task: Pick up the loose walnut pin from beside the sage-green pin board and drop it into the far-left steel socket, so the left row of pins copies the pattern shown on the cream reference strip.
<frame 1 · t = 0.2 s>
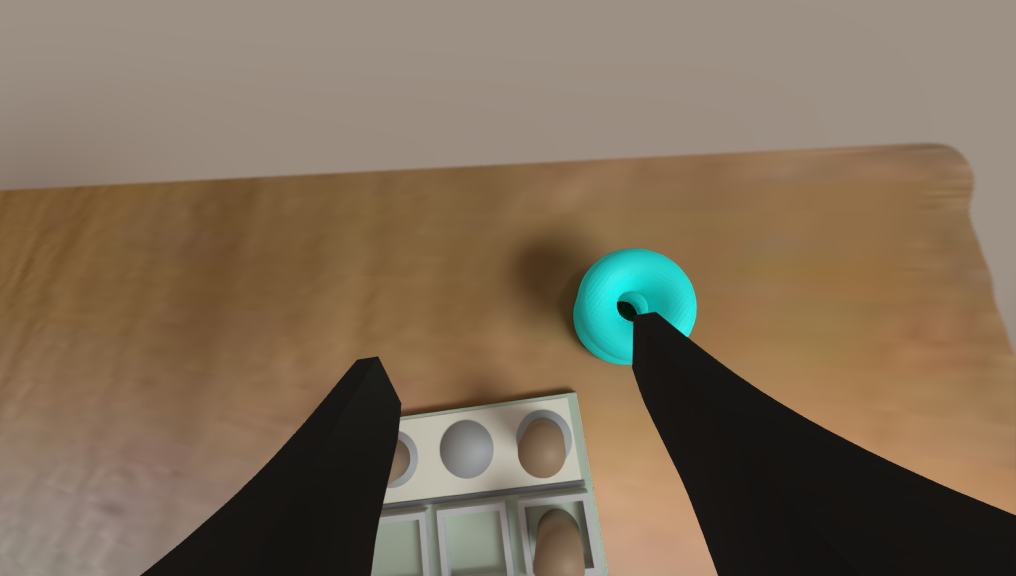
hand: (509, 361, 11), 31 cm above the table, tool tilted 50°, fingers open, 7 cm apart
donuts: (618, 318, 42), on the table
pin board: (474, 493, 39), on the table
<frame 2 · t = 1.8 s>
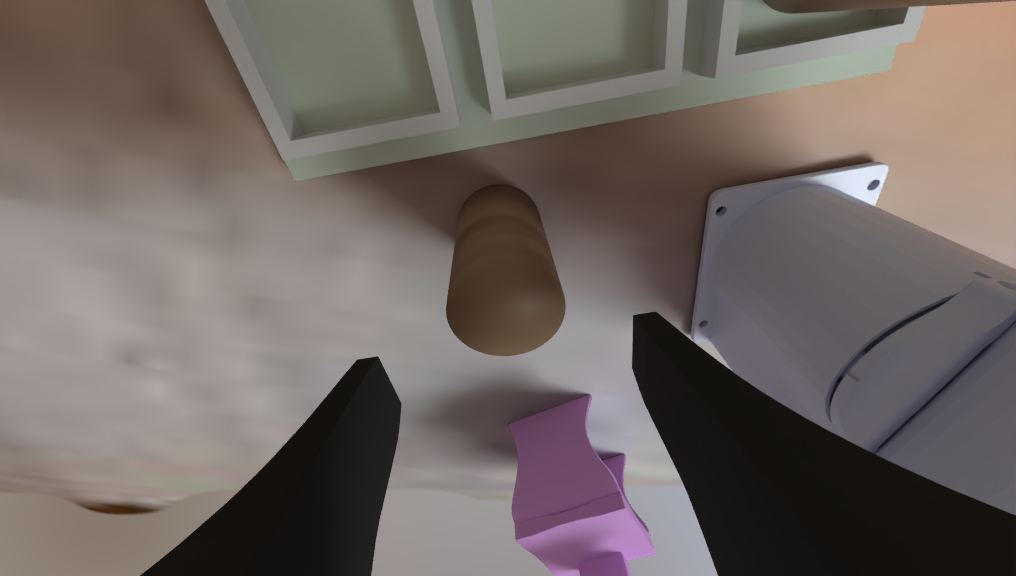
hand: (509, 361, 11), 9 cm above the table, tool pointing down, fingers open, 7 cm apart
toy chair: (567, 436, 29), on the table
walnut pin: (499, 224, 19), on the table
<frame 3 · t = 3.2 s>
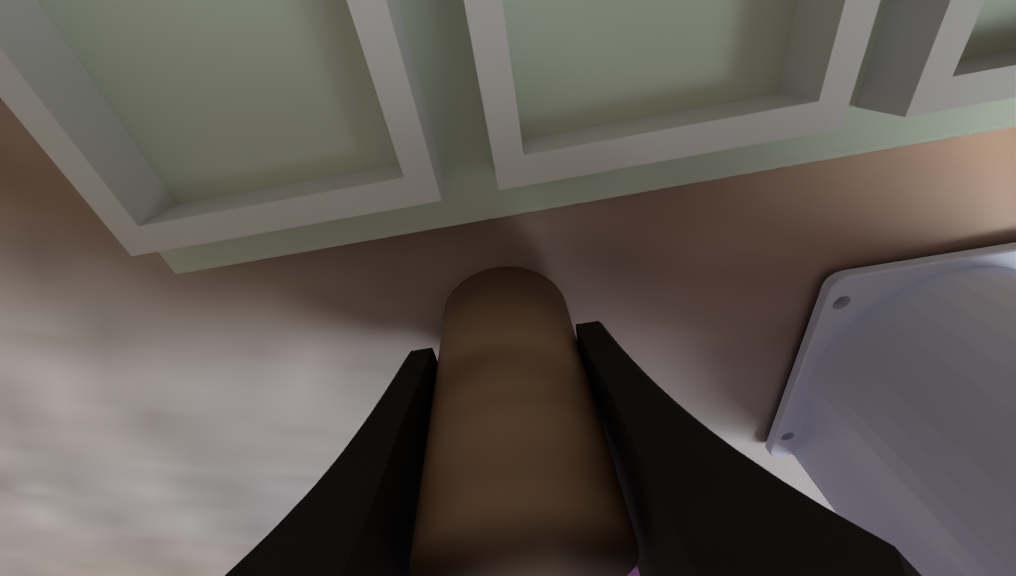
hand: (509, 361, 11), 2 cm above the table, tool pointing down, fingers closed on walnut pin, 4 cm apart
walnut pin: (506, 319, 13), on the table, touching gripper
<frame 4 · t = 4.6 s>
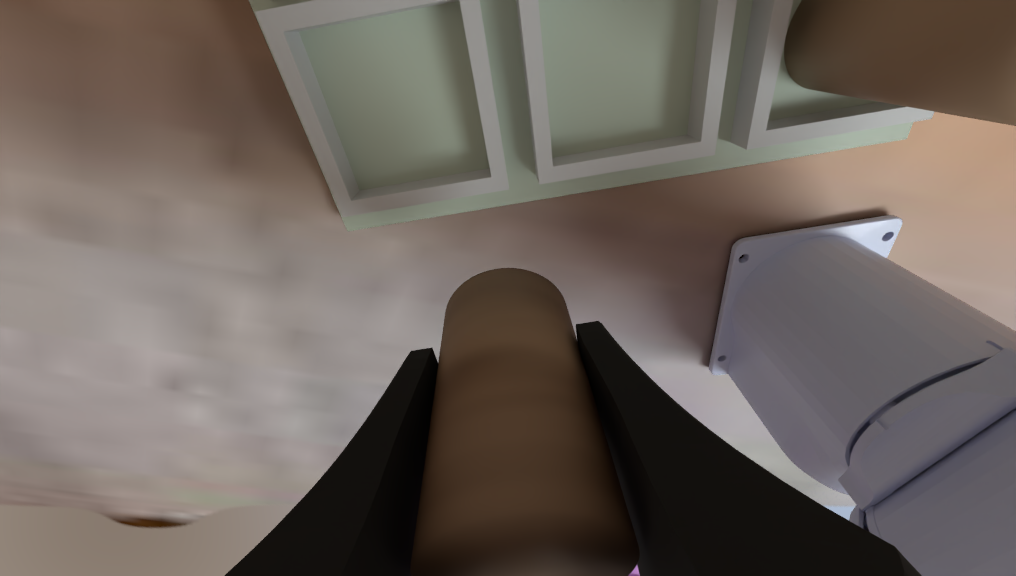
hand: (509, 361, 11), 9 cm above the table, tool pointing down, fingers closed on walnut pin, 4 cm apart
walnut pin: (506, 320, 13), point 7 cm above the table, touching gripper
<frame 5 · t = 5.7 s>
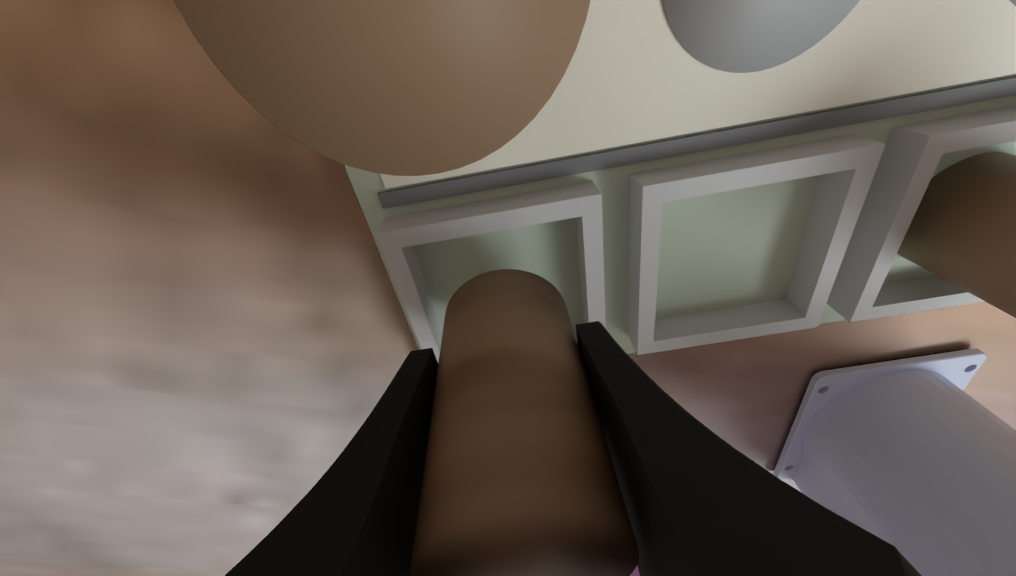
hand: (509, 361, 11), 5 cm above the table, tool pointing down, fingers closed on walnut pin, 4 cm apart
walnut pin: (506, 321, 13), point 3 cm above the table, touching gripper
pin board: (725, 127, 12), on the table
when the fingers open (4 cm above the table, at t = 6.3 s): walnut pin drops 1 cm, resting on pin board.
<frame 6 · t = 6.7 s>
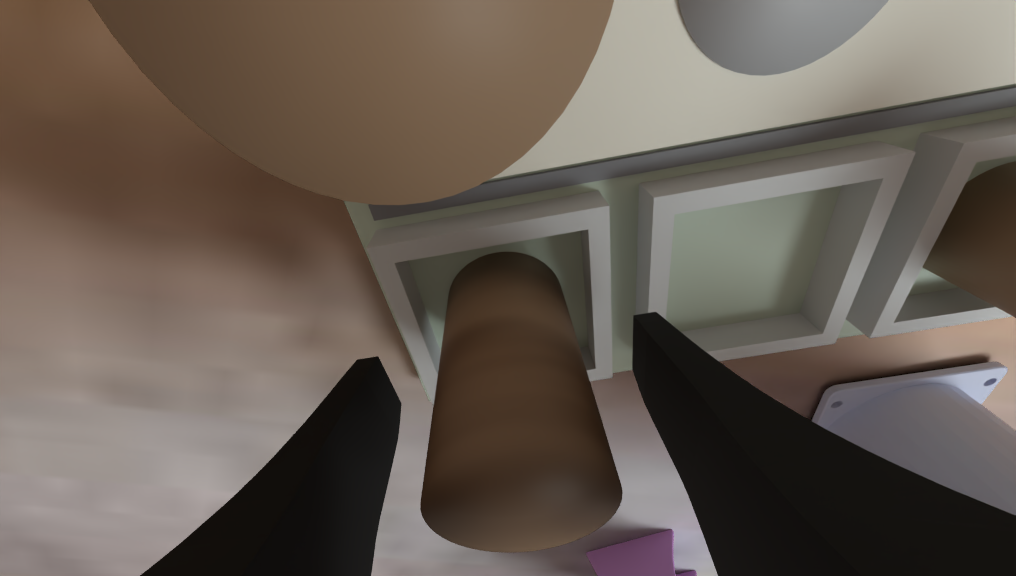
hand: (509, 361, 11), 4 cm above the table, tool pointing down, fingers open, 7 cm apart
toy chair: (641, 557, 29), on the table
walnut pin: (505, 301, 13), point 1 cm above the table, touching pin board
pin board: (740, 133, 12), on the table
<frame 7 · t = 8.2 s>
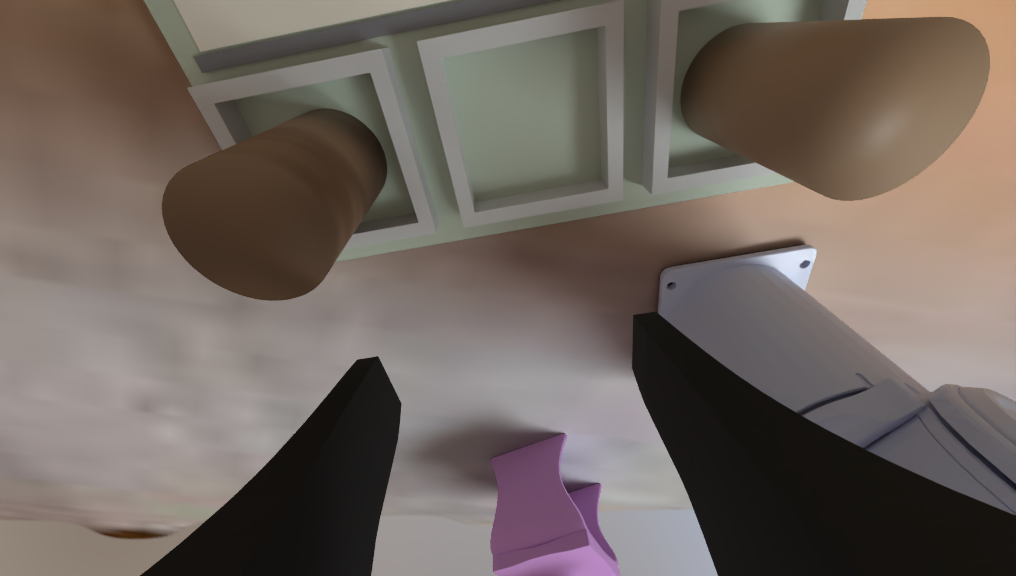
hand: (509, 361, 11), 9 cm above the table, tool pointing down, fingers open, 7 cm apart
toy chair: (546, 468, 31), on the table
walnut pin: (337, 161, 16), point 1 cm above the table, touching pin board
pin board: (511, 2, 14), on the table
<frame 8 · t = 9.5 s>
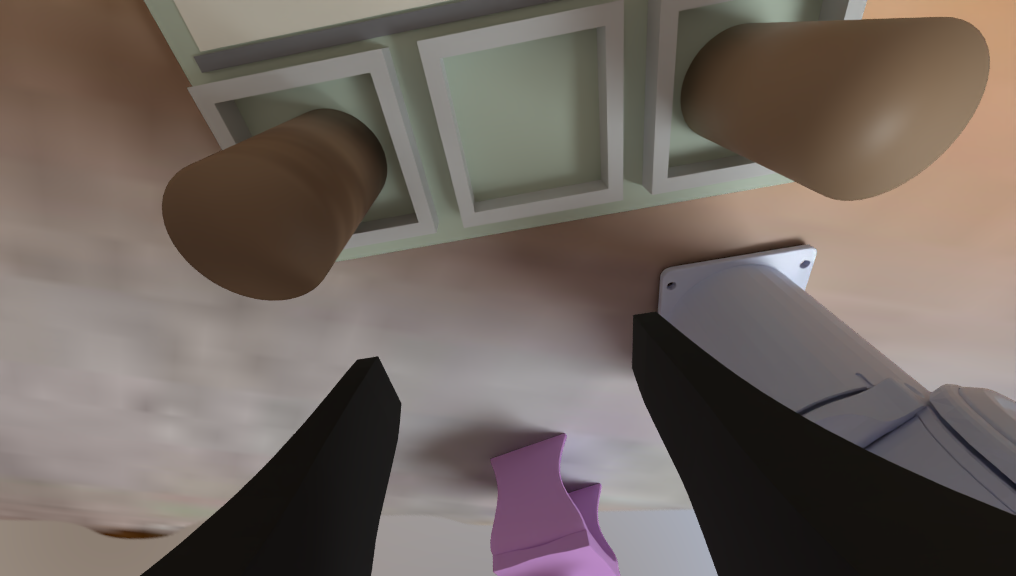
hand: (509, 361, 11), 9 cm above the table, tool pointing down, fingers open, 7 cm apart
toy chair: (546, 468, 31), on the table
walnut pin: (337, 161, 16), point 1 cm above the table, touching pin board
pin board: (511, 2, 14), on the table
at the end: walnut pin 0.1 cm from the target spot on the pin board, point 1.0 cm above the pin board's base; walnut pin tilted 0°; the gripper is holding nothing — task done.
